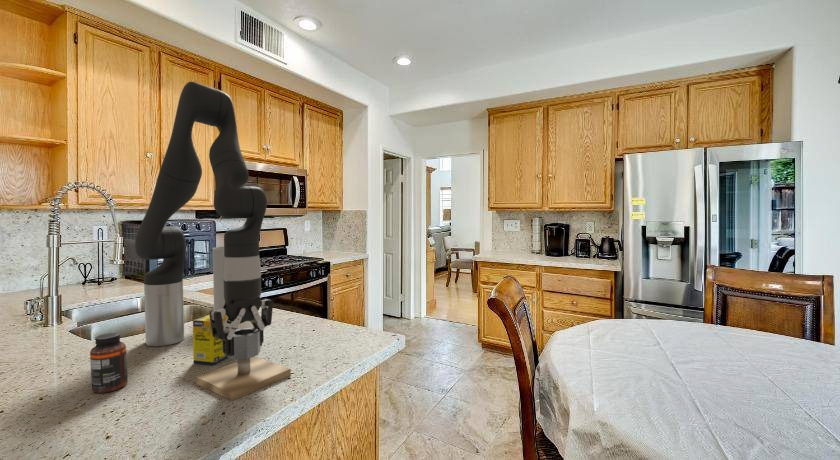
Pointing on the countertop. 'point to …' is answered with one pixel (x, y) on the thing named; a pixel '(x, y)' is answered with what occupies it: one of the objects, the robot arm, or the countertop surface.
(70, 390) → the countertop surface
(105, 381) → the supplement bottle
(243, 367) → the shaft stand
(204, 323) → the supplement box
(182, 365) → the countertop surface
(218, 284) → the cylinder vase
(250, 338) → the ring
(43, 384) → the countertop surface
